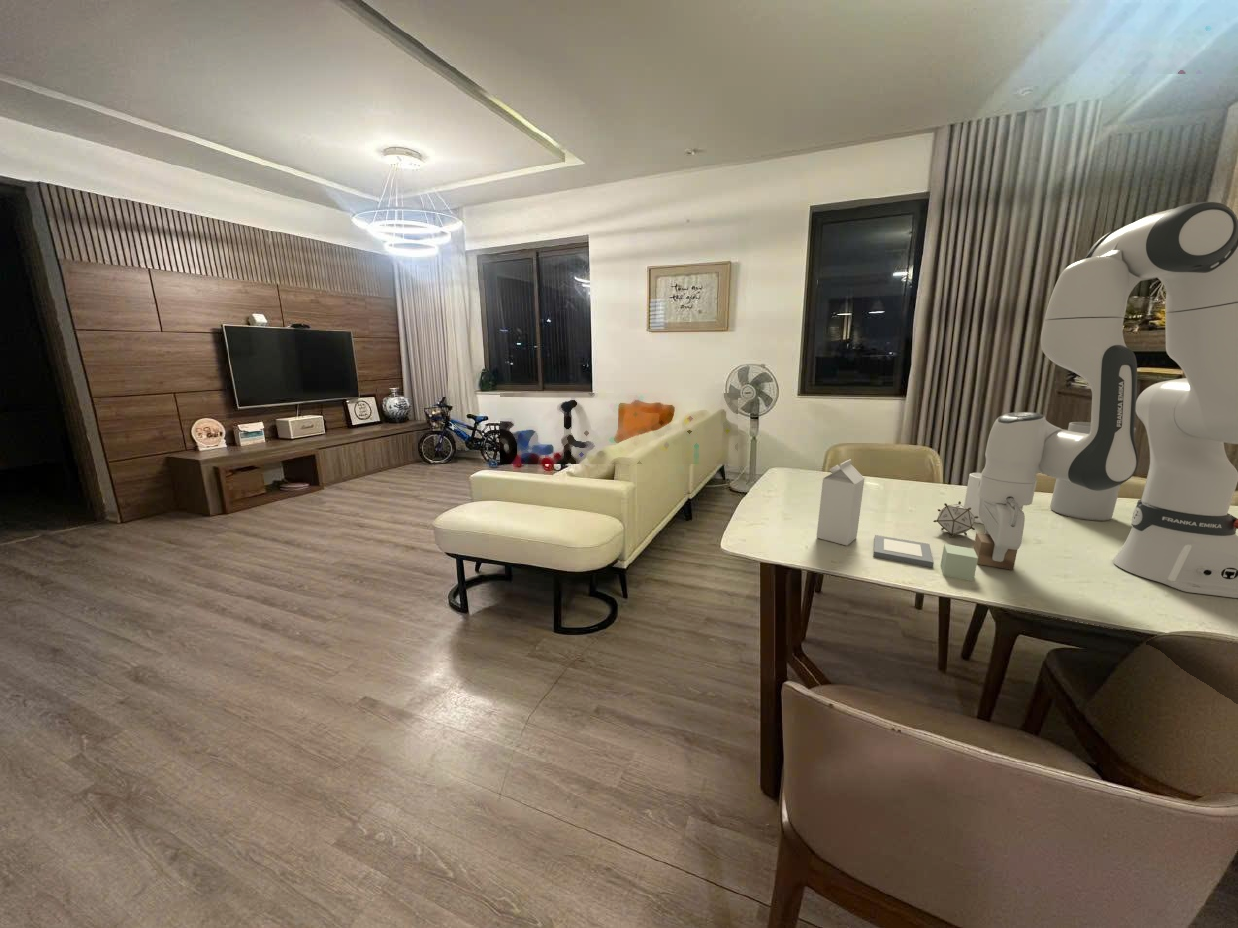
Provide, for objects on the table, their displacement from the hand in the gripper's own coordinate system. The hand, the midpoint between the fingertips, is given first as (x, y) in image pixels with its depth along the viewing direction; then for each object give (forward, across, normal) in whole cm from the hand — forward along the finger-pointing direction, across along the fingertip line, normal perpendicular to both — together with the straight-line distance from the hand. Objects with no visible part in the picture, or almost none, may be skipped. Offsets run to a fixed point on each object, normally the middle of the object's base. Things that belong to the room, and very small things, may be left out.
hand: (993, 553), depth 99 cm
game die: (+2, +15, +5) cm, 16 cm away
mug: (+2, +33, -4) cm, 33 cm away
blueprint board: (+2, -4, +17) cm, 17 cm away
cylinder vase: (+2, +51, -28) cm, 58 cm away
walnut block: (+2, 0, 0) cm, 2 cm away
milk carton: (+2, -2, +30) cm, 30 cm away
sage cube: (+2, -10, +7) cm, 12 cm away
